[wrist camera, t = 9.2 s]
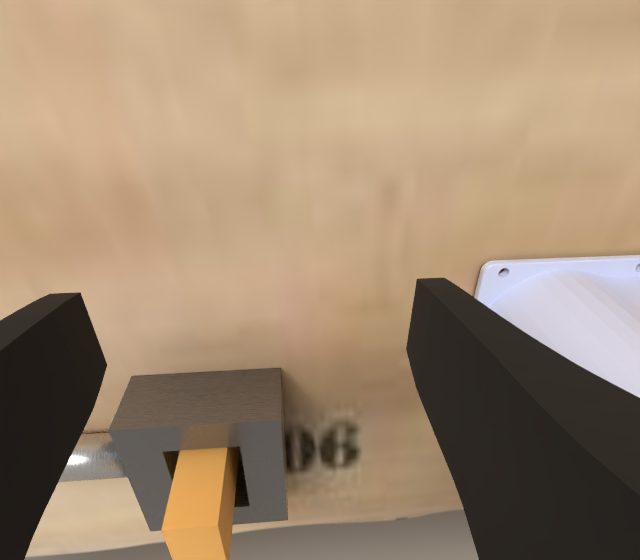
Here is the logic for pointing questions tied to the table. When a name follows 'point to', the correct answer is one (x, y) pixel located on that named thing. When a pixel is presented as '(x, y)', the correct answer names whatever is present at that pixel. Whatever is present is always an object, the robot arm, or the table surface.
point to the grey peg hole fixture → (193, 439)
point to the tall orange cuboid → (202, 504)
